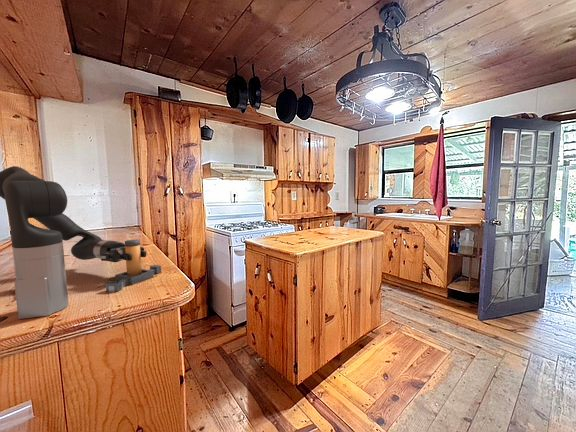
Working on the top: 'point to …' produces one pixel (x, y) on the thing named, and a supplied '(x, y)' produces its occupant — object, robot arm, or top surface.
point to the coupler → (133, 257)
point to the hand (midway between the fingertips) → (138, 255)
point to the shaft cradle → (131, 278)
